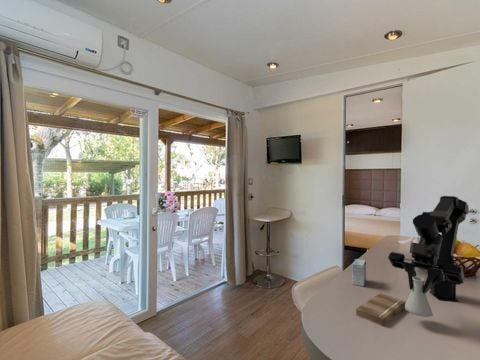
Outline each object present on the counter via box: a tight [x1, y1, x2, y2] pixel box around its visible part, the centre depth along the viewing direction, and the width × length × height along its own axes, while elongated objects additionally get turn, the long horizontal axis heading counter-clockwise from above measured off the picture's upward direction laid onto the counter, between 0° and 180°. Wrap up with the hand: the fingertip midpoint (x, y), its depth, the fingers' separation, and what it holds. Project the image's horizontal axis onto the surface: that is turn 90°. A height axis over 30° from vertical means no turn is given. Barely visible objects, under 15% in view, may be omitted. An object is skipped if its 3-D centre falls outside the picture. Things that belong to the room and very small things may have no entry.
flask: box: [404, 276, 434, 318], centre depth 77 cm, size 7×7×10 cm
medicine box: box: [351, 258, 367, 288], centre depth 107 cm, size 8×4×9 cm, turn 148°
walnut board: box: [355, 292, 406, 327], centre depth 84 cm, size 18×8×2 cm, turn 129°
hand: (417, 290), depth 76 cm, fingers closed on flask, 3 cm apart
